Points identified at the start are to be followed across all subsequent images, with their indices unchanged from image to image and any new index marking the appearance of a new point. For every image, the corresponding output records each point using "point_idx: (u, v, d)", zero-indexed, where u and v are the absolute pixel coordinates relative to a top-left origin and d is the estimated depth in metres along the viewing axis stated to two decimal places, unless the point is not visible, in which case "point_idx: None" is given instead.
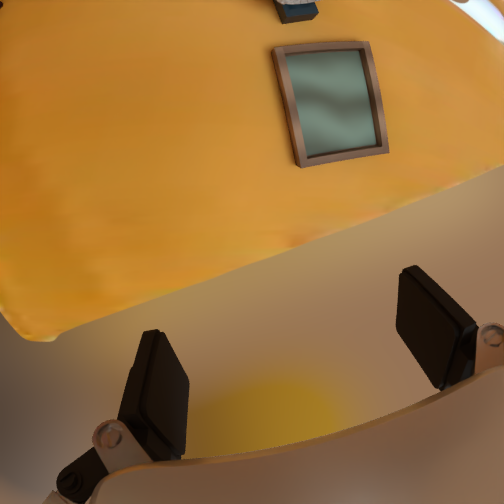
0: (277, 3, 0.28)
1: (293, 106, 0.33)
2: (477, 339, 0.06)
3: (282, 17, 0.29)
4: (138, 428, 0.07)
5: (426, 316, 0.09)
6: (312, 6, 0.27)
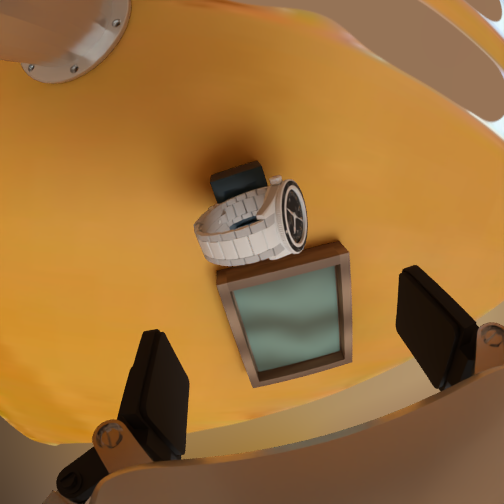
0: None
1: (242, 344, 0.31)
2: (477, 339, 0.06)
3: None
4: (138, 428, 0.07)
5: (426, 316, 0.09)
6: None
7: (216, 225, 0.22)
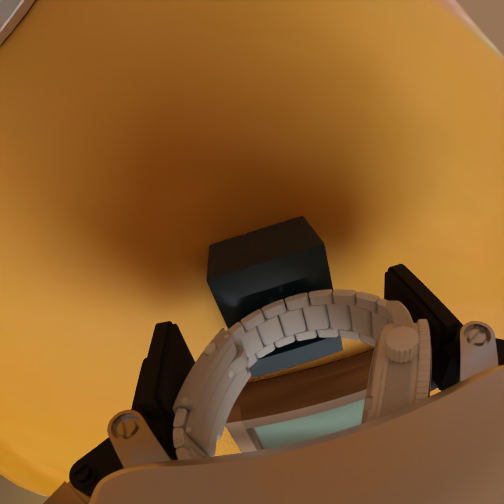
0: None
1: None
2: (460, 337, 0.07)
3: None
4: (153, 418, 0.07)
5: (410, 314, 0.09)
6: (329, 337, 0.12)
7: (223, 385, 0.09)
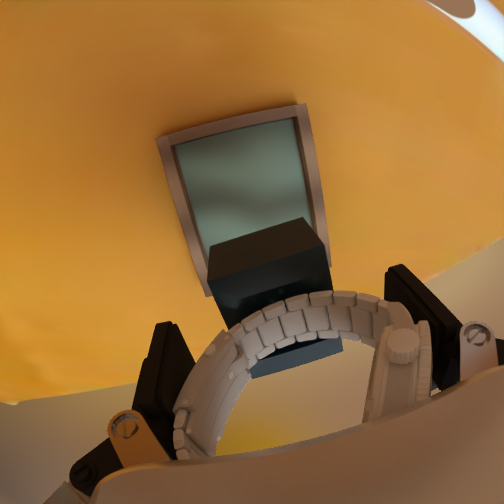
0: None
1: (187, 222, 0.26)
2: (460, 337, 0.07)
3: None
4: (153, 418, 0.07)
5: (410, 314, 0.09)
6: (329, 338, 0.12)
7: (223, 387, 0.09)
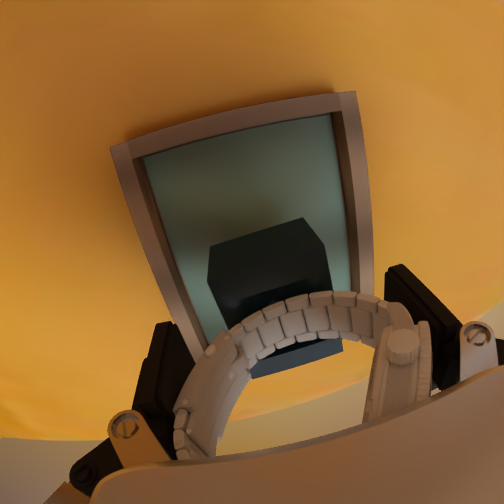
0: None
1: (166, 279, 0.17)
2: (460, 338, 0.07)
3: None
4: (153, 418, 0.07)
5: (410, 314, 0.09)
6: (329, 338, 0.12)
7: (223, 387, 0.09)
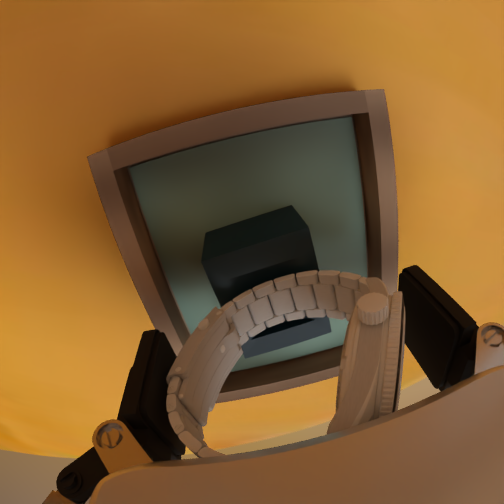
0: None
1: (158, 311, 0.14)
2: (477, 339, 0.06)
3: None
4: (138, 428, 0.07)
5: (426, 316, 0.09)
6: (317, 318, 0.13)
7: (215, 359, 0.10)
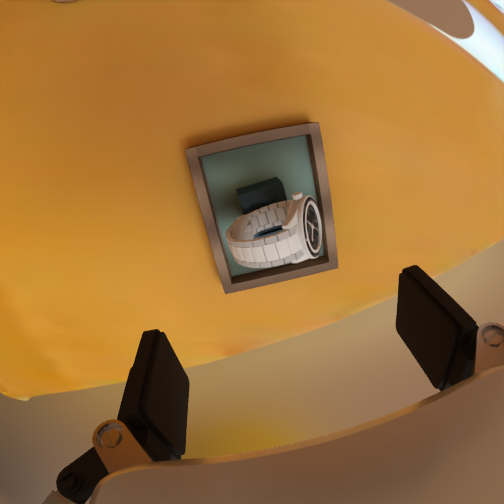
0: None
1: (211, 226, 0.30)
2: (477, 339, 0.06)
3: None
4: (138, 428, 0.07)
5: (426, 316, 0.09)
6: None
7: (243, 233, 0.26)
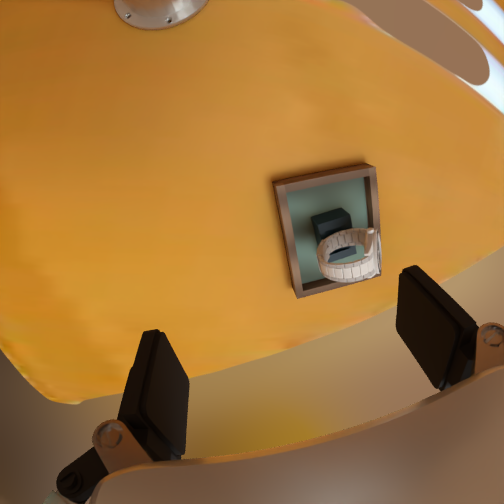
0: (318, 239, 0.38)
1: (292, 246, 0.38)
2: (477, 339, 0.06)
3: None
4: (138, 428, 0.07)
5: (426, 316, 0.09)
6: (352, 247, 0.37)
7: (325, 254, 0.34)
